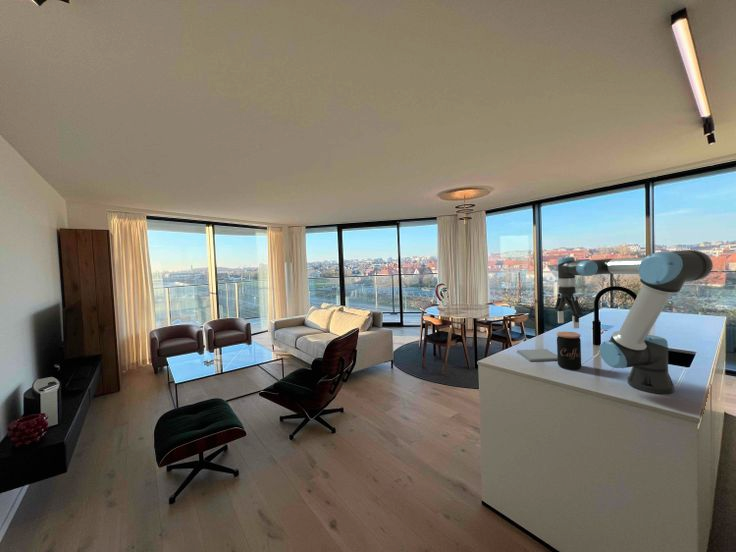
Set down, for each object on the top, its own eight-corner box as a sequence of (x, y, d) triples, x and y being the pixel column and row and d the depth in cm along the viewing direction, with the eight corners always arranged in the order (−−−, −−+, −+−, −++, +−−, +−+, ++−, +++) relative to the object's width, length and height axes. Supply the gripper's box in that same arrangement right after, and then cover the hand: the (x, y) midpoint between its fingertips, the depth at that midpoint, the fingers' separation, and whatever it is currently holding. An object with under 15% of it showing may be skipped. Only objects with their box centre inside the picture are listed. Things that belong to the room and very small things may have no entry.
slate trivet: (562, 360, 172) (562, 358, 172) (530, 361, 174) (529, 359, 173) (546, 350, 190) (545, 348, 190) (516, 352, 191) (516, 350, 191)
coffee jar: (558, 369, 160) (557, 335, 159) (556, 362, 170) (555, 331, 169) (583, 371, 155) (582, 337, 154) (579, 364, 165) (578, 332, 164)
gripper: (589, 287, 148) (590, 330, 149) (560, 283, 173) (562, 320, 174) (573, 288, 148) (575, 331, 149) (547, 284, 173) (548, 321, 174)
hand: (568, 325), depth 161 cm, fingers open, 13 cm apart
